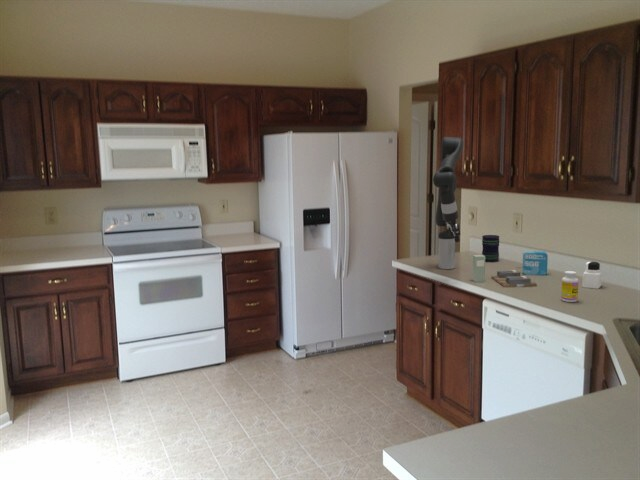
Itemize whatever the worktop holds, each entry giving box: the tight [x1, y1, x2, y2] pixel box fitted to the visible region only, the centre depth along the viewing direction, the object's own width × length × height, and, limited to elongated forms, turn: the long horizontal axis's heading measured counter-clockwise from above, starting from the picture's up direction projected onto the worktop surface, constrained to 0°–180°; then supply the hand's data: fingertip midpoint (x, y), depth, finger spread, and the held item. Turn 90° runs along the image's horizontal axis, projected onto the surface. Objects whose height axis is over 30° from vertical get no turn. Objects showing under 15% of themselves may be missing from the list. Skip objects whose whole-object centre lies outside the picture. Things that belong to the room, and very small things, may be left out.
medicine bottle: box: [582, 261, 602, 290], centre depth 271 cm, size 7×7×12 cm
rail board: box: [490, 269, 538, 288], centre depth 285 cm, size 20×16×4 cm
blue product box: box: [522, 250, 548, 276], centre depth 301 cm, size 12×4×12 cm, turn 73°
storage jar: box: [481, 234, 500, 263], centre depth 338 cm, size 10×10×15 cm
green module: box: [472, 254, 486, 283], centre depth 289 cm, size 5×5×13 cm
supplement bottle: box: [560, 270, 579, 303], centre depth 248 cm, size 7×7×13 cm
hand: (454, 238), depth 290 cm, fingers open, 8 cm apart
